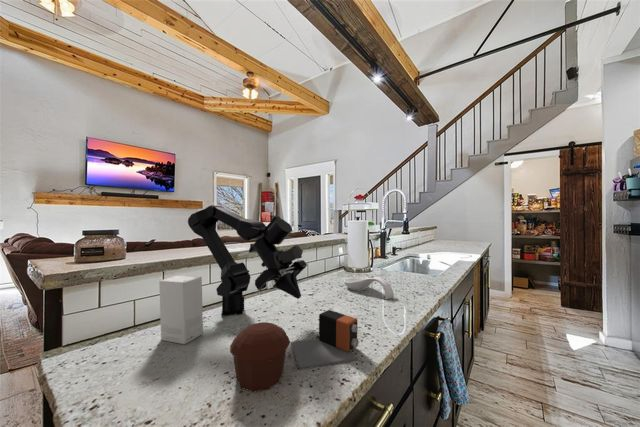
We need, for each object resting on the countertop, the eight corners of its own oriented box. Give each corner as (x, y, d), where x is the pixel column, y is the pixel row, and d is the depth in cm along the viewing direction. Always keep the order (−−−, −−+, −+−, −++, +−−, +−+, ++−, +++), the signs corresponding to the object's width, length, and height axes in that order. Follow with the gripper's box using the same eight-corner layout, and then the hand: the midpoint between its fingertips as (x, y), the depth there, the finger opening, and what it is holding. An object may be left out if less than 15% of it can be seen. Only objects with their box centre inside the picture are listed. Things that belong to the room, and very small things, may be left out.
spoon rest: (338, 288, 113) (338, 272, 113) (356, 283, 121) (356, 268, 121) (381, 302, 95) (381, 283, 95) (399, 296, 102) (400, 278, 102)
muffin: (237, 406, 43) (237, 346, 43) (223, 371, 52) (224, 322, 53) (299, 381, 49) (300, 330, 49) (277, 354, 59) (277, 311, 59)
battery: (317, 340, 65) (351, 354, 58) (318, 313, 65) (351, 325, 58) (328, 334, 68) (361, 347, 61) (328, 308, 68) (361, 319, 61)
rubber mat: (299, 369, 53) (299, 367, 53) (290, 343, 64) (290, 341, 64) (356, 360, 57) (356, 357, 57) (339, 337, 67) (339, 335, 67)
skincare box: (203, 334, 68) (204, 276, 69) (183, 346, 62) (183, 282, 62) (179, 329, 71) (180, 273, 71) (157, 340, 65) (158, 279, 65)
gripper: (264, 239, 66) (298, 289, 61) (302, 234, 83) (332, 273, 77) (241, 266, 70) (272, 315, 65) (282, 256, 86) (309, 294, 81)
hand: (299, 297), depth 72 cm, fingers closed
